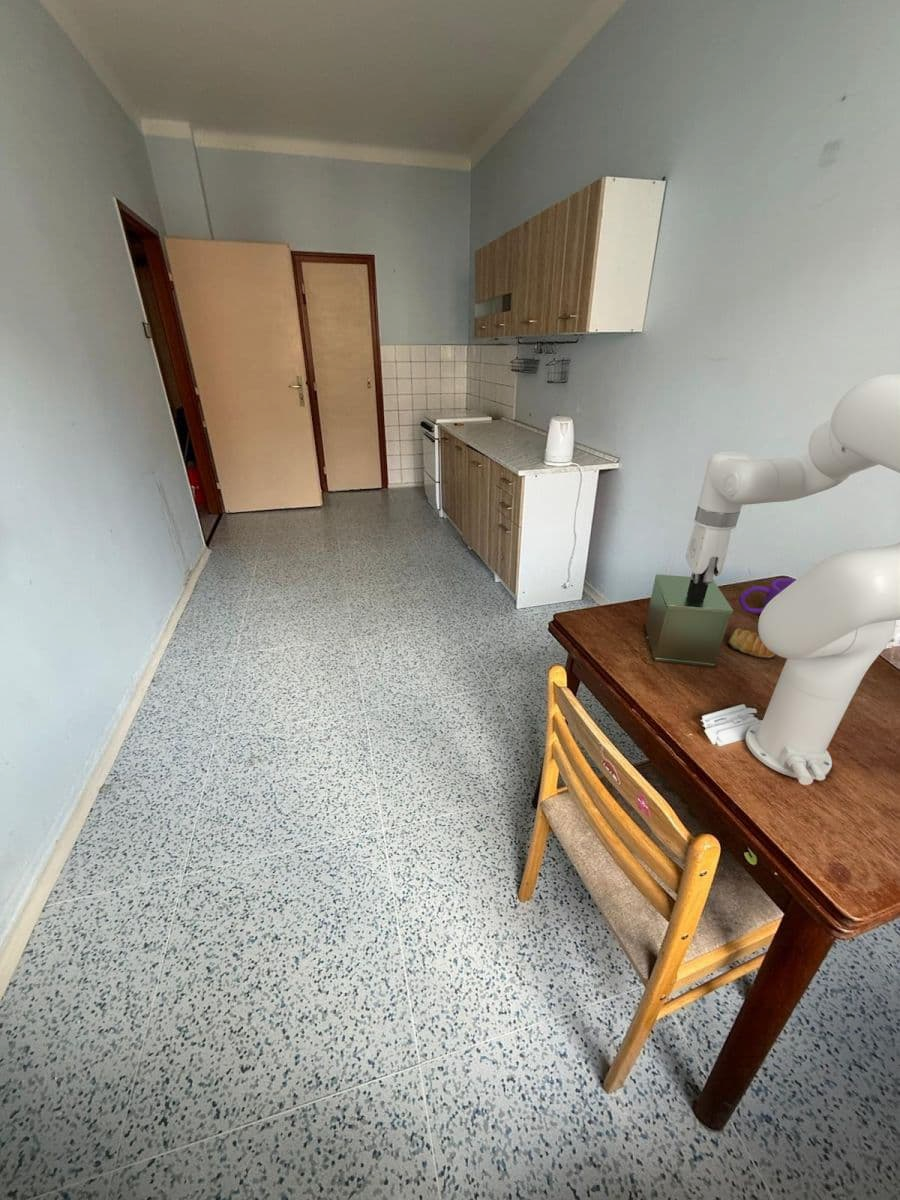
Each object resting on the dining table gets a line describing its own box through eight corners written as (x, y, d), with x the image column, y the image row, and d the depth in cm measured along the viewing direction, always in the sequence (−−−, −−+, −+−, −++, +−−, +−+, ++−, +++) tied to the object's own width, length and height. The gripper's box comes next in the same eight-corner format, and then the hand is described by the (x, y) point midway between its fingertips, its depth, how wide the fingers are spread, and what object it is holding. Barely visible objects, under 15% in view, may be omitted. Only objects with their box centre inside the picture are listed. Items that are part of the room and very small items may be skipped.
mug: (804, 614, 124) (817, 580, 120) (818, 636, 115) (833, 600, 110) (730, 605, 129) (740, 572, 125) (737, 625, 120) (748, 590, 115)
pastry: (777, 651, 110) (783, 637, 108) (769, 663, 106) (774, 649, 104) (734, 636, 116) (738, 623, 114) (724, 647, 112) (728, 634, 110)
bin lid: (732, 613, 97) (733, 610, 97) (667, 608, 100) (668, 605, 100) (711, 581, 112) (712, 578, 111) (655, 577, 114) (655, 574, 114)
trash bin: (714, 667, 105) (730, 613, 98) (654, 660, 107) (666, 608, 101) (698, 630, 118) (711, 581, 112) (645, 625, 121) (655, 577, 114)
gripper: (688, 504, 101) (670, 581, 110) (705, 528, 88) (683, 613, 97) (726, 506, 99) (705, 584, 108) (749, 530, 86) (723, 616, 95)
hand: (695, 597), depth 102 cm, fingers closed
